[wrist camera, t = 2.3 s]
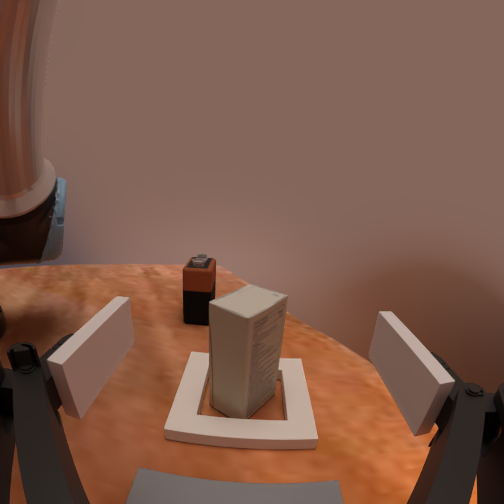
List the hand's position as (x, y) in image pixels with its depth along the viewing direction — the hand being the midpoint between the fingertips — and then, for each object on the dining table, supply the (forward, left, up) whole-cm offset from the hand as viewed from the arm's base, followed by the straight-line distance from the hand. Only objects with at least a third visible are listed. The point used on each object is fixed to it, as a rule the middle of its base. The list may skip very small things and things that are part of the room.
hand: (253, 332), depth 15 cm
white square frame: (0, +11, -15) cm, 18 cm away
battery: (-8, +31, -15) cm, 35 cm away
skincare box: (0, +11, -15) cm, 18 cm away
